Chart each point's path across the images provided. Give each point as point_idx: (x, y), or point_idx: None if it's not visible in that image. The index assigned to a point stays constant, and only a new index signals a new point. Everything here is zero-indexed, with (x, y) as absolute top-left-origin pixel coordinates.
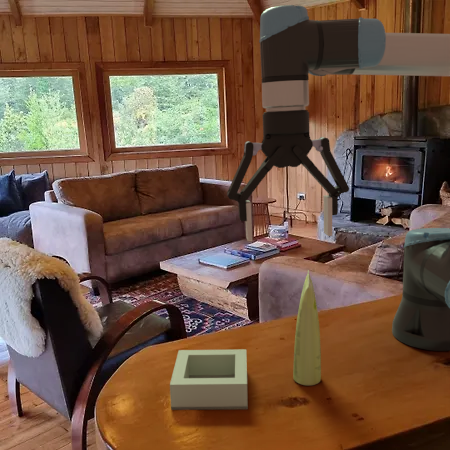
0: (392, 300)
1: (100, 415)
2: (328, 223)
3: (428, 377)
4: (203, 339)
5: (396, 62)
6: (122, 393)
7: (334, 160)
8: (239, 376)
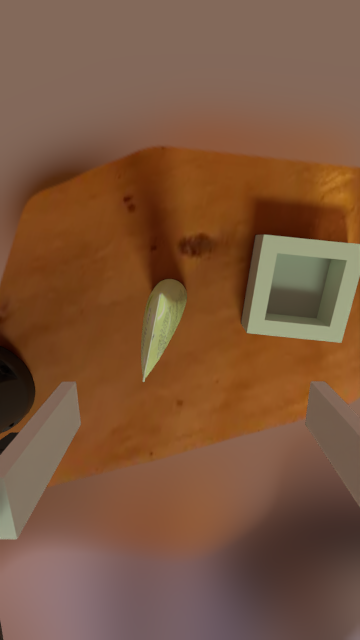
0: None
1: None
2: (57, 403)
3: (21, 282)
4: (282, 414)
5: None
6: None
7: None
8: (270, 256)
